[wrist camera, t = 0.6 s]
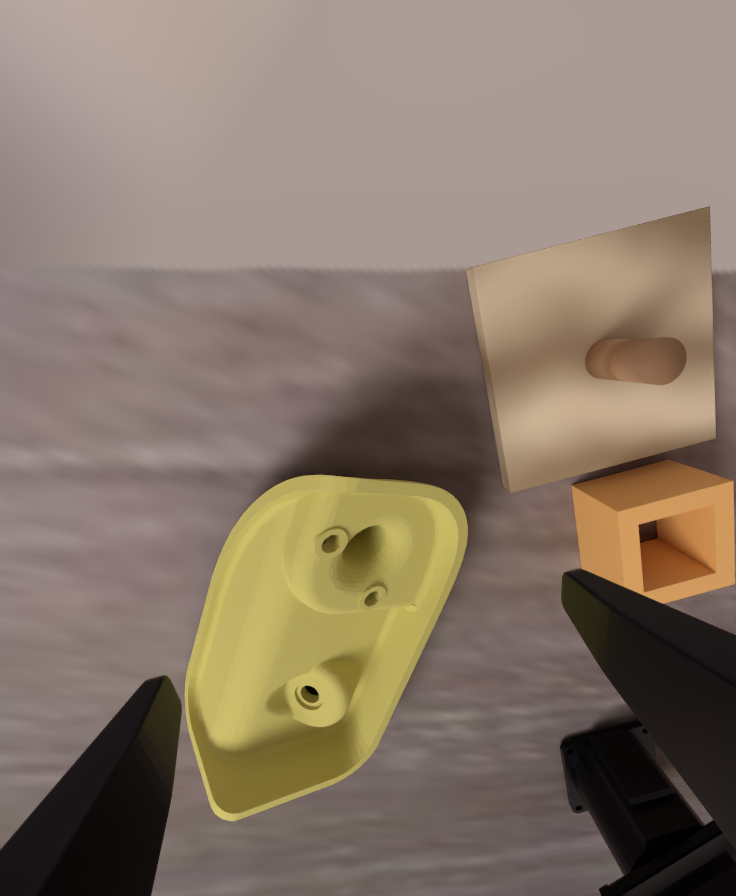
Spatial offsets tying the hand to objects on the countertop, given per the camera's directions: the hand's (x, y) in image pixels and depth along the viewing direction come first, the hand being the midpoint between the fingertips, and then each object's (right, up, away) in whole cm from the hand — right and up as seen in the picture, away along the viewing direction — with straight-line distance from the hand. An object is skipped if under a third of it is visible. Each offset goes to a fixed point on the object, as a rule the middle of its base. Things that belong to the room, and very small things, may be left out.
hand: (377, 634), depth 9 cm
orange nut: (+15, 0, +15) cm, 22 cm away
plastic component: (-3, -5, +16) cm, 17 cm away
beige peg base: (+12, +9, +13) cm, 20 cm away
